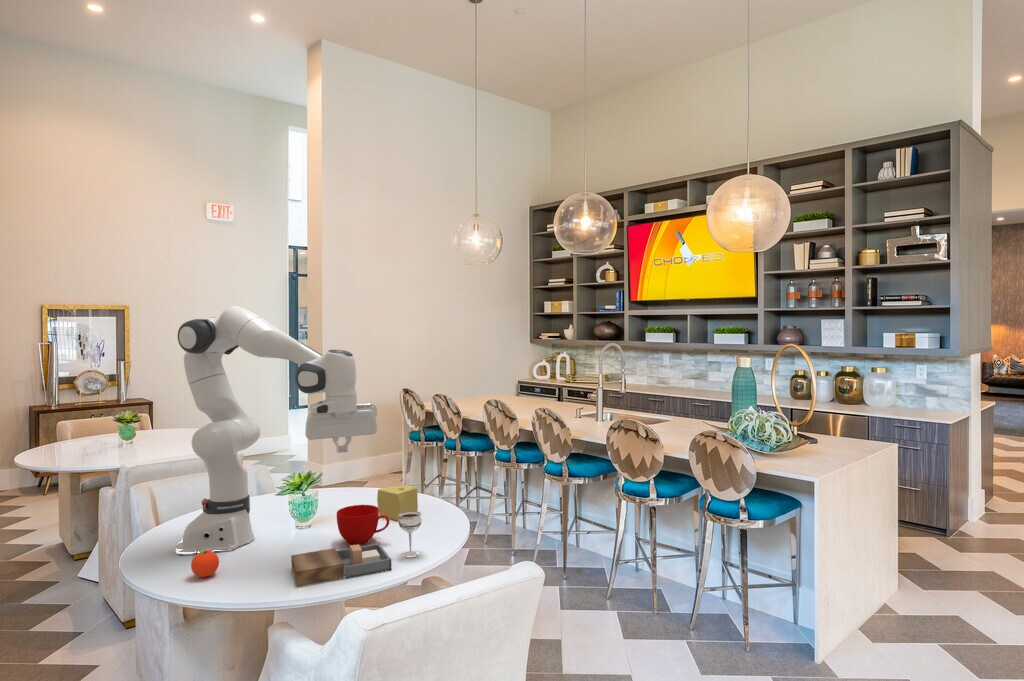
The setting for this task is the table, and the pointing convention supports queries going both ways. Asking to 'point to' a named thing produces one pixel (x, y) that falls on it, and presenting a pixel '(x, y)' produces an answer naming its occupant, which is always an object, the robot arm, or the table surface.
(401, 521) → the wineglass
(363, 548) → the tray
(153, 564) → the table surface
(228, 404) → the robot arm
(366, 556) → the tile
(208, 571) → the clementine
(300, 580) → the walnut block
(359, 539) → the ceramic cup
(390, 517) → the cheese
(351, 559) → the tile
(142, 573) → the table surface
